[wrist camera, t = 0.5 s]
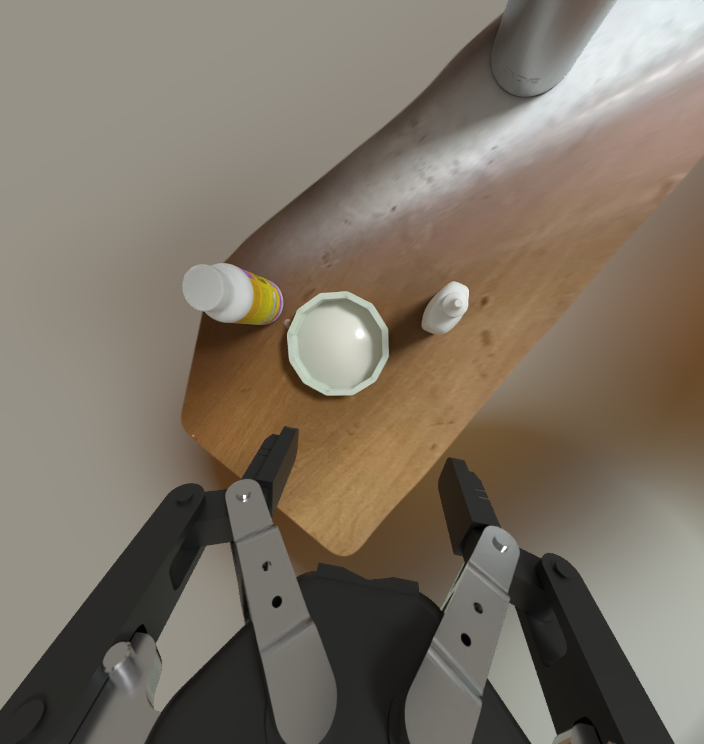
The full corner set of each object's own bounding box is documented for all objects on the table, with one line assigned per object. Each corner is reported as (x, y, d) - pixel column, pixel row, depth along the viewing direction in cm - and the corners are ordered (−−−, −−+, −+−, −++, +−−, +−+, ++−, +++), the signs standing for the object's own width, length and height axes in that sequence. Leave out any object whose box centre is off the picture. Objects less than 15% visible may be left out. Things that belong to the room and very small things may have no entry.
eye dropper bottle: (410, 312, 36) (418, 302, 24) (446, 286, 35) (473, 263, 23) (428, 338, 36) (445, 340, 24) (464, 313, 35) (500, 304, 23)
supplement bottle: (288, 284, 38) (237, 261, 26) (280, 329, 39) (227, 328, 27) (246, 274, 39) (177, 247, 26) (239, 319, 40) (169, 312, 28)
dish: (318, 277, 37) (313, 273, 35) (406, 322, 36) (407, 322, 34) (279, 364, 40) (272, 366, 38) (360, 407, 39) (358, 413, 37)
